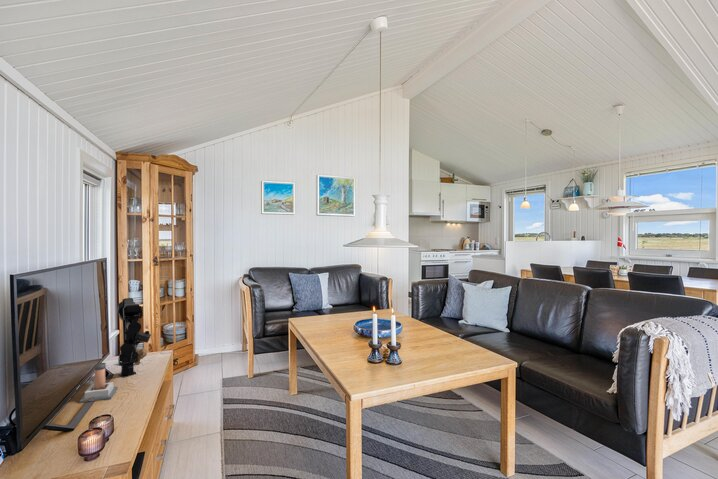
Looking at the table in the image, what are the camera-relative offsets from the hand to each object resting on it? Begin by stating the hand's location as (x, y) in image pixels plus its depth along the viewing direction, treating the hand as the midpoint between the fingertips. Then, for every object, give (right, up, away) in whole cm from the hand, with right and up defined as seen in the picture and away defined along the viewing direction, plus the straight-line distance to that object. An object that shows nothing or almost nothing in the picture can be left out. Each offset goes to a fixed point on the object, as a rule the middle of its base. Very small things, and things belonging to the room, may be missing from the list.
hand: (131, 358), depth 182 cm
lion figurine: (-16, -13, +28) cm, 34 cm away
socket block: (-6, -13, -14) cm, 20 cm away
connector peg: (-6, -12, -14) cm, 19 cm away
